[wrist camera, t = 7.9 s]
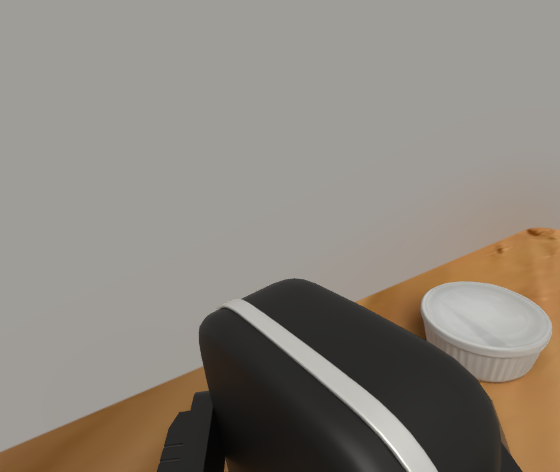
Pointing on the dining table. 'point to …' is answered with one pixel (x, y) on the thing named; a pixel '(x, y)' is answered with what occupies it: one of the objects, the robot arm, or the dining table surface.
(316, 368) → the battery charger
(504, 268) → the dining table surface
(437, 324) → the ramekin
